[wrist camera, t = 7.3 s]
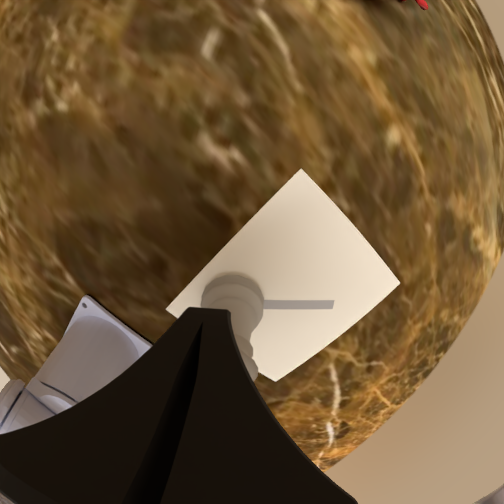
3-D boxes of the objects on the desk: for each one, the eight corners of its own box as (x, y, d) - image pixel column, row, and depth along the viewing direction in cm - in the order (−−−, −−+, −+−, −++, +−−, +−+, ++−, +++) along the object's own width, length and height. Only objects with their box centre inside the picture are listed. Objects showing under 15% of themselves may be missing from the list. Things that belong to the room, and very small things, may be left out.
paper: (275, 380, 23) (275, 381, 23) (165, 308, 20) (165, 309, 20) (399, 282, 19) (400, 283, 19) (300, 168, 16) (301, 168, 16)
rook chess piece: (276, 293, 19) (290, 377, 12) (240, 332, 20) (237, 417, 13) (223, 259, 18) (208, 337, 11) (191, 304, 19) (165, 386, 12)
